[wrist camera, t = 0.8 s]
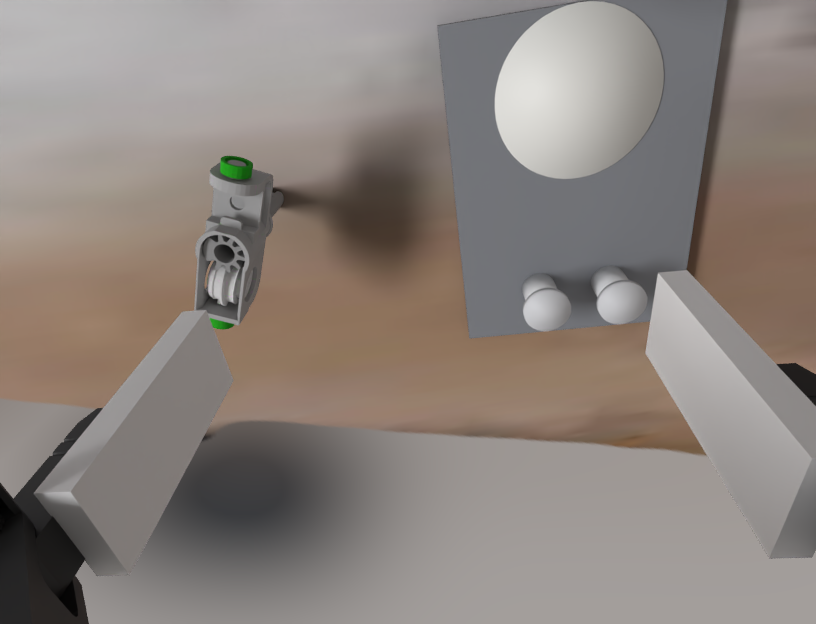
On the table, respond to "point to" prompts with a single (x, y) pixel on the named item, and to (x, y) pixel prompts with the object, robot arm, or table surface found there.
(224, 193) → the mechanical component
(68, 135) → the table surface
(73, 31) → the table surface
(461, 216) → the board
